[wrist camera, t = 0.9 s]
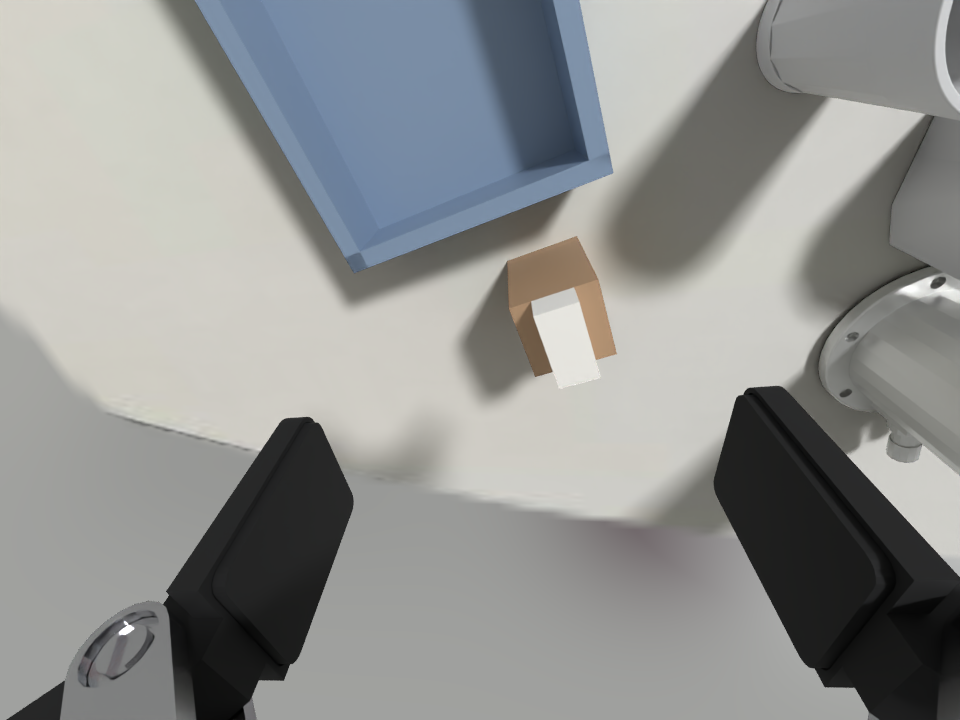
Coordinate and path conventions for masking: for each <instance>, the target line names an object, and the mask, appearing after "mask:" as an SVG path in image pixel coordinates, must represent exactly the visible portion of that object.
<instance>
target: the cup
mask: <svg viewBox="0 0 960 720" xmlns="http://www.w3.org/2000/svg"><path fill="white" fill-rule="evenodd" d="M756 52H757V59H758V64H759V67H760V69H761V72H762V73H763V75H764V77H765V78H766V79H767V81H768V82H769V83H770V84H772V85H773V86H774V87H776V88H778V89H780V90H782V91H785V92H791V93H809V94H814V95H820V96H826V97H832V98H838V99H843V100H849V101H855V102H861V103H866V104H872V105H878V106H884V107H890V108H895V109H901V110H907V111H913V112H918V113H923V114H928V115H933V116H938V117H944V118H949V119H954V120H959V121H960V0H768V2H767V4H766V6H765V8H764V11H763V14H762V17H761V20H760V23H759V27H758V33H757V41H756Z"/></svg>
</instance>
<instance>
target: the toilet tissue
mask: <svg viewBox="0 0 960 720" xmlns="http://www.w3.org/2000/svg"><path fill="white" fill-rule="evenodd" d="M889 245H891V246H893V247H895V248H897V249H899V250H901V251H903V252H905V253H907V254H909V255H911V256H913V257H915V258H917V259H919V260H921V261H923V262H925V263H927V264H928V265H930V266H932V267H934V268H936V269H938V270H940V271H942V272H944V273H946V274H948V275H950V276H952V277H954V278H956V279H958V280H960V121H959V120H954V119H949V118H944V117H938V116H934V118H933V120H932V122H931V124H930V127H929V129H928V131H927V133H926V135H925V137H924V139H923V141H922V143H921V145H920V147H919V150H918V152H917V154H916V156H915V158H914V160H913V162H912V164H911V166H910V168H909V170H908V173H907V175H906V177H905V179H904V181H903V183H902V185H901V187H900V189H899V191H898V193H897V196H896V198H895V200H894V202H893V204H892V210H891V226H890V241H889Z"/></svg>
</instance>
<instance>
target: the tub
mask: <svg viewBox="0 0 960 720" xmlns="http://www.w3.org/2000/svg"><path fill="white" fill-rule="evenodd" d="M195 2H196V4H197V5H198V7H199V9H200V10H201V12H202V14H203V16H204V17H205V19H206V21H207V22H208V24H209V26H210V28H211V29H212V31H213V33H214V34H215V36H216V38H217V40H218V41H219V43H220V45H221V46H222V48H223V50H224V52H225V53H226V55H227V57H228V58H229V60H230V62H231V63H232V65H233V67H234V69H235V70H236V72H237V74H238V75H239V77H240V79H241V81H242V82H243V84H244V86H245V87H246V89H247V91H248V93H249V94H250V96H251V98H252V99H253V101H254V103H255V105H256V106H257V108H258V110H259V111H260V113H261V115H262V117H263V118H264V120H265V122H266V123H267V125H268V127H269V129H270V130H271V132H272V134H273V135H274V137H275V139H276V141H277V142H278V144H279V146H280V147H281V149H282V151H283V152H284V154H285V156H286V158H287V159H288V161H289V163H290V164H291V166H292V168H293V170H294V171H295V173H296V175H297V176H298V178H299V180H300V182H301V183H302V185H303V187H304V188H305V190H306V192H307V194H308V195H309V197H310V199H311V200H312V202H313V204H314V206H315V207H316V209H317V211H318V212H319V214H320V216H321V218H322V219H323V221H324V223H325V224H326V226H327V228H328V230H329V231H330V233H331V235H332V236H333V238H334V240H335V241H336V243H337V245H338V247H339V248H340V250H341V252H342V253H343V255H344V257H345V259H346V260H347V262H348V264H349V265H350V267H351V269H352V271H353V272H354V273H356V272H359V271H361V270H364V269H366V268H369V267H371V266H374V265H377V264H379V263H382V262H384V261H387V260H390V259H392V258H395V257H397V256H400V255H403V254H405V253H408V252H410V251H413V250H416V249H418V248H421V247H423V246H426V245H428V244H431V243H434V242H436V241H439V240H441V239H444V238H447V237H449V236H452V235H454V234H457V233H460V232H462V231H465V230H467V229H470V228H473V227H475V226H478V225H480V224H483V223H485V222H488V221H491V220H493V219H496V218H498V217H501V216H504V215H506V214H509V213H511V212H514V211H517V210H519V209H522V208H524V207H527V206H530V205H532V204H535V203H537V202H540V201H542V200H545V199H548V198H550V197H553V196H555V195H558V194H561V193H563V192H566V191H568V190H571V189H574V188H576V187H579V186H581V185H584V184H587V183H589V182H592V181H594V180H597V179H599V178H602V177H605V176H607V175H610V174H612V173H613V169H612V164H611V159H610V154H609V149H608V144H607V138H606V133H605V128H604V123H603V118H602V113H601V108H600V103H599V98H598V93H597V88H596V83H595V78H594V73H593V67H592V62H591V57H590V52H589V47H588V42H587V37H586V32H585V27H584V22H583V17H582V12H581V7H580V2H579V0H195Z"/></svg>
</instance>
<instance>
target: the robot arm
mask: <svg viewBox="0 0 960 720" xmlns="http://www.w3.org/2000/svg"><path fill="white" fill-rule="evenodd" d="M819 377H820V379H821V382H822V384H823V386H824V388H825V389H826V390H827V391H828V392H829V393H830V394H831V395H832V396H833V397H834V398H835V399H836V400H838V401H839V402H840V403H841V404H843V405H845V406H847V407H849V408H851V409H855V410H859V411H863V412H875V413H880V414H881V415H882V416H883V417H884V418H885V419H887V427H888V428H889V430H890V431H892V432H891V434H890V435H889V438H888V443H887V448H886V452H887V455H888V456H889V457H890V458H892V459H894V460H896V461H899V462H904V463H910V462H915V461H916V460H918V459H919V455H920V451H921V447H922V444H923V445H924V446H925V447H926V448H927V449H929V450H930V451H931V452H932V453H933V454H934V455H936V456H937V457H938V458H939V459H940V460H941V461H943V462H944V463H945V464H946V465H947V466H949V467H950V468H951V469H952V470H953V471H954V472H956V473H957V474H958V475H959V476H960V280H958V279H956V278H954V277H952V276H950V275H948V274H946V273H944V272H942V271H940V270H938V269H936V268H934V267H928V268H924V269H921V270H918V271H916V272H913V273H911V274H908V275H905V276H903V277H901V278H899V279H897V280H895V281H893V282H891V283H889V284H887V285H885V286H883V287H881V288H880V289H878V290H877V291H875V292H874V293H872V294H871V295H869V296H868V297H866V298H865V299H864V300H862V301H861V302H860V303H859V304H858V305H857V306H855V307H854V308H853V309H852V310H851V311H849V312H848V313H847V315H846V316H845V317H844V318H843V319H842V320H841V321H840V322H839V323H838V324H837V326H836V327H835V328H834V330H833V331H832V333H831V334H830V336H829V337H828V339H827V341H826V343H825V345H824V347H823V350H822V352H821V355H820V360H819ZM714 490H715V493H716V496H717V498H718V500H719V502H720V504H721V506H722V507H723V509H724V511H725V513H726V515H727V517H728V519H729V521H730V523H731V525H732V527H733V529H734V531H735V533H736V535H737V537H738V538H739V540H740V542H741V544H742V546H743V548H744V550H745V552H746V554H747V556H748V558H749V560H750V562H751V564H752V566H753V567H754V569H755V571H756V573H757V575H758V577H759V579H760V581H761V583H762V585H763V587H764V589H765V591H766V592H767V595H768V596H769V598H770V600H771V602H772V604H773V606H774V608H775V610H776V612H777V614H778V616H779V618H780V620H781V622H782V624H783V625H784V627H785V629H786V631H787V633H788V635H789V637H790V639H791V641H792V643H793V645H794V647H795V649H796V651H797V652H798V654H799V656H800V658H801V659H802V661H803V662H804V663H805V664H806V665H807V666H808V667H810V668H815V670H816V671H817V674H818V675H819V677H820V679H821V681H822V683H823V685H824V687H845V688H847V687H849V688H853V687H854V688H855V689H856V690H857V692H858V694H859V695H860V697H861V699H862V701H863V702H864V704H865V706H866V707H867V709H868V711H869V716H868V720H960V577H959V576H958V575H957V574H956V573H955V572H954V571H953V569H951V567H950V566H949V565H948V564H947V563H946V562H945V561H944V560H943V559H942V558H941V557H940V555H939V554H938V553H937V552H936V551H935V550H934V549H933V548H932V547H931V546H930V545H929V544H928V543H927V541H926V540H925V539H924V538H923V537H922V536H921V535H920V534H919V533H918V532H917V531H916V530H915V529H914V527H913V526H912V525H911V524H910V523H909V522H908V521H907V520H906V519H905V518H904V517H903V516H902V515H901V513H900V512H899V511H898V510H897V509H896V508H895V507H894V506H893V505H892V504H891V503H890V502H889V501H888V499H887V498H886V497H885V496H884V495H883V494H882V493H881V492H880V491H879V490H878V489H877V488H876V487H875V485H874V484H873V483H872V482H871V481H870V480H869V479H868V478H867V477H866V476H865V475H864V474H863V473H862V471H861V470H860V469H859V468H858V467H857V466H856V465H855V464H854V463H853V462H852V461H851V460H850V459H849V457H848V456H847V455H846V454H845V453H844V452H843V451H842V450H841V449H840V448H839V447H838V446H837V445H836V443H835V442H834V441H833V440H832V439H831V438H830V437H829V436H828V435H827V434H826V433H825V432H824V431H823V429H822V428H821V427H820V426H819V425H818V424H817V423H816V422H815V421H814V420H813V419H812V418H811V417H810V415H809V414H808V413H807V412H806V411H805V410H804V409H803V408H802V407H801V406H800V405H799V404H798V403H797V401H796V400H795V399H794V398H793V397H792V396H791V395H790V394H789V393H788V392H787V391H786V390H785V389H784V388H783V387H780V386H769V387H754V388H748V389H747V390H746V391H745V392H744V395H740V396H738V397H737V398H736V401H735V404H734V408H733V411H732V415H731V419H730V422H729V426H728V430H727V433H726V437H725V441H724V444H723V448H722V452H721V455H720V459H719V463H718V466H717V470H716V474H715V477H714ZM352 509H353V495H352V492H351V490H350V488H349V486H348V484H347V482H346V479H345V477H344V475H343V473H342V471H341V468H340V466H339V464H338V462H337V460H336V458H335V455H334V453H333V451H332V449H331V447H330V444H329V442H328V440H327V438H326V436H325V434H324V431H323V429H322V427H321V425H320V424H319V423H315V422H314V421H313V419H312V418H310V417H300V418H286V419H284V420H282V421H281V422H280V423H279V425H278V426H277V428H276V429H275V431H274V432H273V434H272V435H271V437H270V438H269V440H268V441H267V443H266V444H265V446H264V447H263V449H262V450H261V452H260V453H259V455H258V456H257V458H256V459H255V461H254V462H253V464H252V465H251V467H250V468H249V469H248V471H247V472H246V474H245V475H244V477H243V478H242V480H241V481H240V483H239V484H238V486H237V488H236V489H235V490H234V492H233V493H232V495H231V496H230V498H229V499H228V501H227V502H226V504H225V505H224V507H223V508H222V510H221V511H220V513H219V514H218V515H217V517H216V518H215V520H214V521H213V523H212V524H211V526H210V527H209V529H208V530H207V532H206V533H205V535H204V536H203V538H202V539H201V541H200V542H199V544H198V545H197V547H196V548H195V549H194V551H193V553H192V554H191V555H190V557H189V558H188V560H187V561H186V563H185V564H184V566H183V568H182V569H181V570H180V572H179V573H178V575H177V576H176V578H175V579H174V581H173V582H172V584H171V585H170V587H169V588H168V589H167V591H166V592H167V593H168V594H169V596H168V598H167V599H166V601H165V602H164V604H161V603H160V602H155V601H146V602H142V603H137V604H134V605H132V606H130V607H128V608H126V609H124V610H122V611H120V612H118V613H117V614H116V615H114V616H113V617H111V618H110V619H108V620H107V621H106V622H104V623H103V624H102V625H101V626H100V627H99V628H98V629H97V630H96V631H95V632H94V633H92V634H91V635H90V637H89V638H88V639H87V640H86V642H85V643H84V644H83V645H82V646H81V647H80V649H79V650H78V652H77V654H76V655H75V657H74V659H73V660H72V662H71V664H70V666H69V669H68V672H67V676H66V679H65V681H63V682H62V683H60V684H59V685H58V686H56V687H55V688H53V689H51V690H50V691H49V692H47V693H46V694H44V695H43V696H41V697H40V698H38V699H37V700H35V701H34V702H32V703H31V704H29V705H28V706H26V707H25V708H23V709H22V710H20V711H19V712H17V713H16V714H14V715H13V716H12V717H10V718H9V719H7V720H257V719H256V714H255V710H254V705H253V700H252V695H253V693H254V690H255V688H256V685H257V683H258V681H259V680H280V681H284V679H285V676H286V673H287V671H288V668H289V665H290V664H293V663H294V662H295V661H296V660H297V659H298V657H299V655H300V652H301V650H302V647H303V644H304V642H305V639H306V636H307V633H308V631H309V628H310V625H311V622H312V620H313V617H314V614H315V612H316V609H317V606H318V603H319V600H320V598H321V595H322V592H323V590H324V587H325V584H326V581H327V578H328V576H329V573H330V570H331V568H332V565H333V562H334V559H335V556H336V554H337V551H338V548H339V546H340V543H341V540H342V537H343V534H344V532H345V529H346V526H347V523H348V521H349V518H350V515H351V512H352Z"/></svg>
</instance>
